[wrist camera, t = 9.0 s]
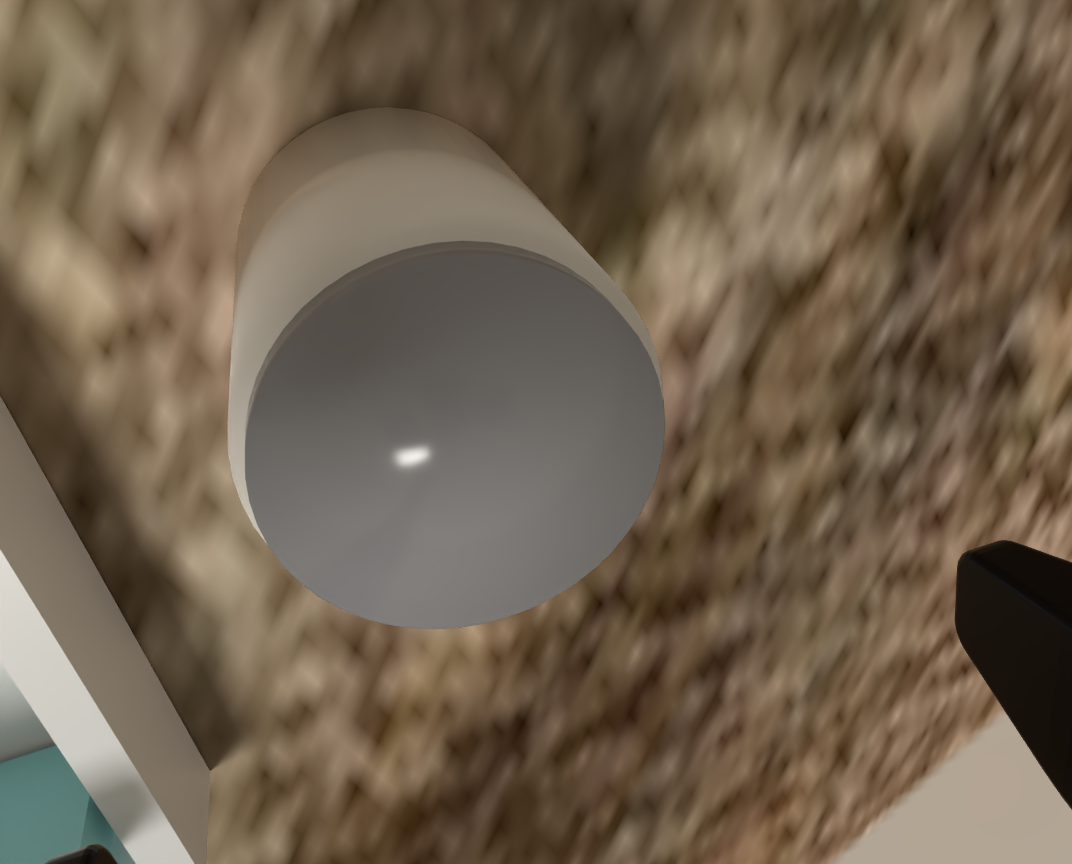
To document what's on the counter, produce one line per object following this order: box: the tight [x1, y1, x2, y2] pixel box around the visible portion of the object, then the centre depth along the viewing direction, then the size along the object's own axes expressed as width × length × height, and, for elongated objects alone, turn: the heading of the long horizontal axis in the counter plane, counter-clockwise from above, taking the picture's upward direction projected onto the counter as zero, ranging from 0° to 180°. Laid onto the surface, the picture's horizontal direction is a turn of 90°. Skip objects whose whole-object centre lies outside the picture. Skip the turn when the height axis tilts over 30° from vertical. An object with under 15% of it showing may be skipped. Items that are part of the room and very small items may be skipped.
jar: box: [228, 107, 665, 629], centre depth 15 cm, size 6×6×8 cm
